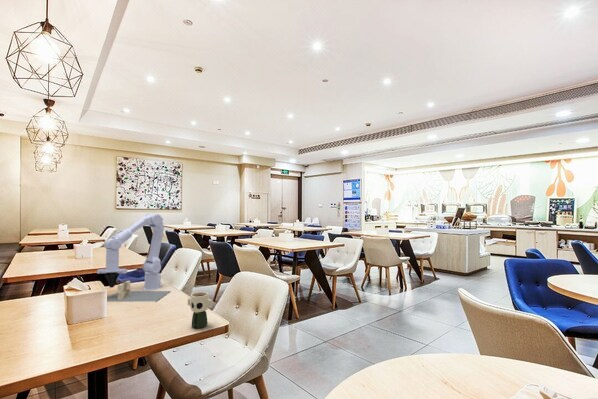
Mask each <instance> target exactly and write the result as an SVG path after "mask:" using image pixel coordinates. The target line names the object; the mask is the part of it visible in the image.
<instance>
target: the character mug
mask: <svg viewBox="0 0 598 399" xmlns="http://www.w3.org/2000/svg"><path fill="white" fill-rule="evenodd" d="M187 306H189V307H190V311H191V312H192V319H191V327H192V328H197V329H198V328H204V327H206V326H207V325H208V323H209V321H208V316H207V311H208V310H209V308H212V307H213V300H212V299H211V298H210V294H209V292H208V291H196V292H193V293H191V294H190V297H188V298H187ZM195 326H196V327H195Z"/></svg>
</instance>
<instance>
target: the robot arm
mask: <svg viewBox="0 0 598 399" xmlns="http://www.w3.org/2000/svg"><path fill="white" fill-rule="evenodd" d="M163 221H164V218H163V217H162V216H161V214H159V213H146V214H145V215H143V216H141V218H139V220H137V221H136V222H134V224H132V225H131V226H129V227H128V228H124V229H119V232H118V233H117V234H115V235H112V237H111V238H108V239H107V240H105V242H104V243H103V246H104V249H106V251H105V268H99V269H97V270H96V272H97V274H98V275H99V274H104V278H106V281H107V284H108V286H109V288H114V287H115V286H116V283H117V279H118V277H119V276H120V274H124V275H125V274H127V273H128V269H127V268H120V267H119V266H120V264H119V263H120V249H121V247H122V245H123V244H124V243H125V242H127V241H128V240H129V239H130V238H132V237H133V233H135V232H136V231H138V230H140V229H141V228H142V227H144V226H150V228H151V229H152V230H153V231H152V237H151V242H150V247H149V252H148V256H147V257H146V258H145V260H144V262H143V264H142V270H143V271H144V287H143V288H141V291H157V289H159V288H161V287H162V286H163V285H162V284H161V282H162V281H161V279H162V277H161V273H160V271H161V270H162V265H161V262H162V261H161V259H160V257H159V256H160V252H161V246H162V241H163V236H164V230H165V226H164V222H163Z"/></svg>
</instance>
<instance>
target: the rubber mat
mask: <svg viewBox="0 0 598 399" xmlns="http://www.w3.org/2000/svg"><path fill="white" fill-rule="evenodd" d="M170 293H171V291H170V290H130V295H129V296H127V297H125V298H123V299H121V300H118V299H117V298H118V292H116V293H115V294H112V295H110V296H109V297H106V298H107V302H109V303H112V302H122V303H123V302H126V303H127V302H129V303H130V302H155V303H157V302H159V301H160V300H162V299H163V298H164V297H166V296H167V295H169V294H170ZM161 298H162V299H161Z"/></svg>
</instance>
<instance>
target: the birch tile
mask: <svg viewBox="0 0 598 399" xmlns="http://www.w3.org/2000/svg"><path fill="white" fill-rule="evenodd" d="M130 291H131V280H125V281H124V282H122V283H120V284H118V285H117V293H118V298H117V299H118V300H121V299H123V298H125V297H127V296H129V295H130Z"/></svg>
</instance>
